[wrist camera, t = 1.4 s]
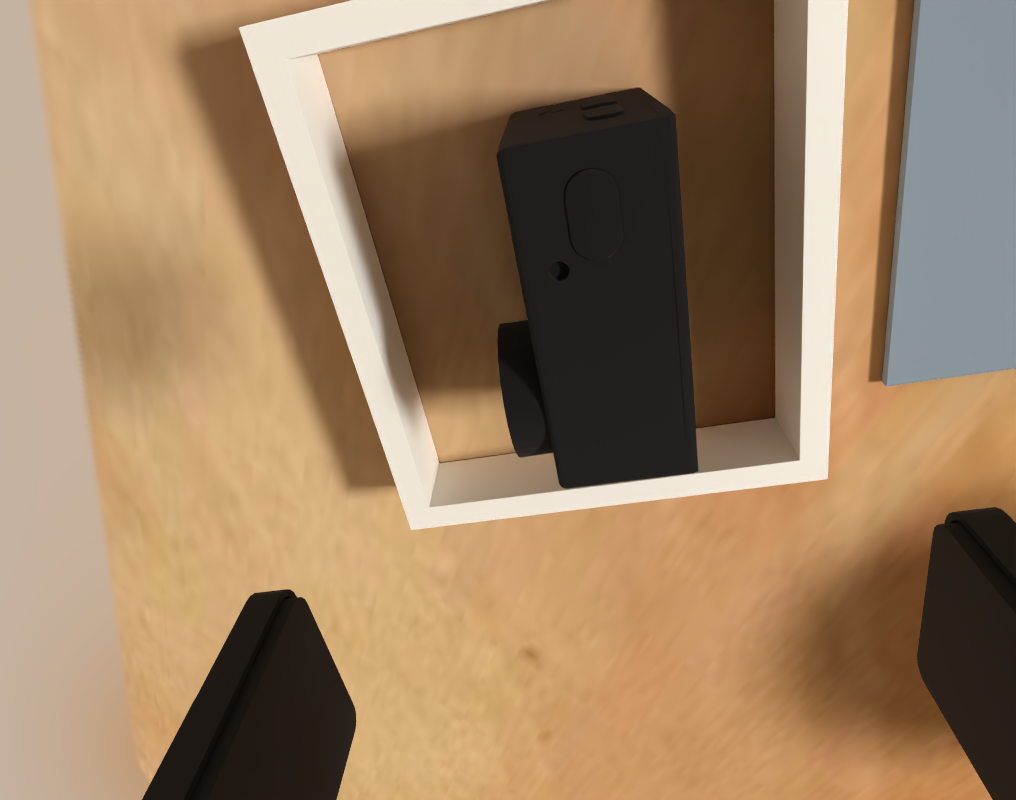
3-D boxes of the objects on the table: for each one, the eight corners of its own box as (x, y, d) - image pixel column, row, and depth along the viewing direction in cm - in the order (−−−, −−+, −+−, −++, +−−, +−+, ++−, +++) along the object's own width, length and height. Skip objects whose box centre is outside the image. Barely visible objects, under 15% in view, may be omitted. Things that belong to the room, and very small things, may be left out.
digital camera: (472, 116, 22) (445, 155, 16) (639, 82, 21) (676, 109, 15) (527, 389, 27) (523, 497, 21) (664, 369, 26) (699, 475, 20)
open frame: (276, 25, 21) (238, 27, 18) (810, -101, 19) (853, -120, 16) (423, 484, 30) (411, 529, 27) (800, 435, 27) (827, 478, 25)
